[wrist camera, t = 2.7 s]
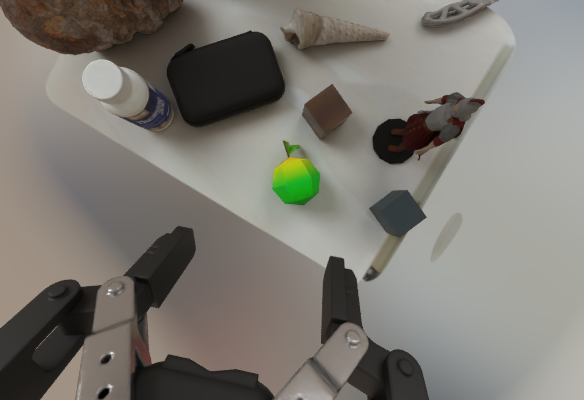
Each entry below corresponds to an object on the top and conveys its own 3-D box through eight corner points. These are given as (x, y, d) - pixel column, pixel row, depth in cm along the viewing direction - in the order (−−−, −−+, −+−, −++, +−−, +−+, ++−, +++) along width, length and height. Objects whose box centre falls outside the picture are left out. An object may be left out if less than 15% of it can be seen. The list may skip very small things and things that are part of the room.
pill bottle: (160, 140, 33) (108, 117, 23) (129, 116, 32) (63, 83, 23) (183, 110, 33) (140, 74, 23) (152, 86, 32) (96, 40, 23)
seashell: (278, 30, 33) (279, -2, 29) (381, 28, 35) (397, -2, 30) (281, 56, 32) (282, 27, 28) (386, 52, 34) (403, 25, 30)
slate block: (369, 208, 34) (380, 210, 30) (393, 190, 34) (407, 190, 30) (386, 232, 34) (399, 237, 30) (410, 214, 35) (426, 217, 31)
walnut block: (301, 114, 33) (304, 104, 29) (326, 96, 34) (332, 83, 30) (319, 140, 34) (324, 132, 30) (344, 121, 34) (352, 112, 30)
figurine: (377, 114, 34) (452, 52, 19) (424, 124, 34) (534, 70, 19) (368, 159, 34) (436, 132, 19) (415, 168, 34) (518, 149, 19)
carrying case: (264, 29, 33) (165, 61, 32) (262, 12, 30) (153, 48, 29) (288, 100, 33) (192, 133, 33) (289, 91, 30) (182, 127, 30)
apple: (310, 206, 26) (284, 131, 26) (272, 216, 30) (249, 151, 30) (337, 192, 32) (316, 130, 31) (302, 202, 36) (283, 147, 35)
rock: (197, 72, 37) (170, 25, 38) (198, -15, 26) (162, -74, 28) (47, 87, 28) (20, 25, 29) (-38, -37, 17) (-74, -123, 19)
